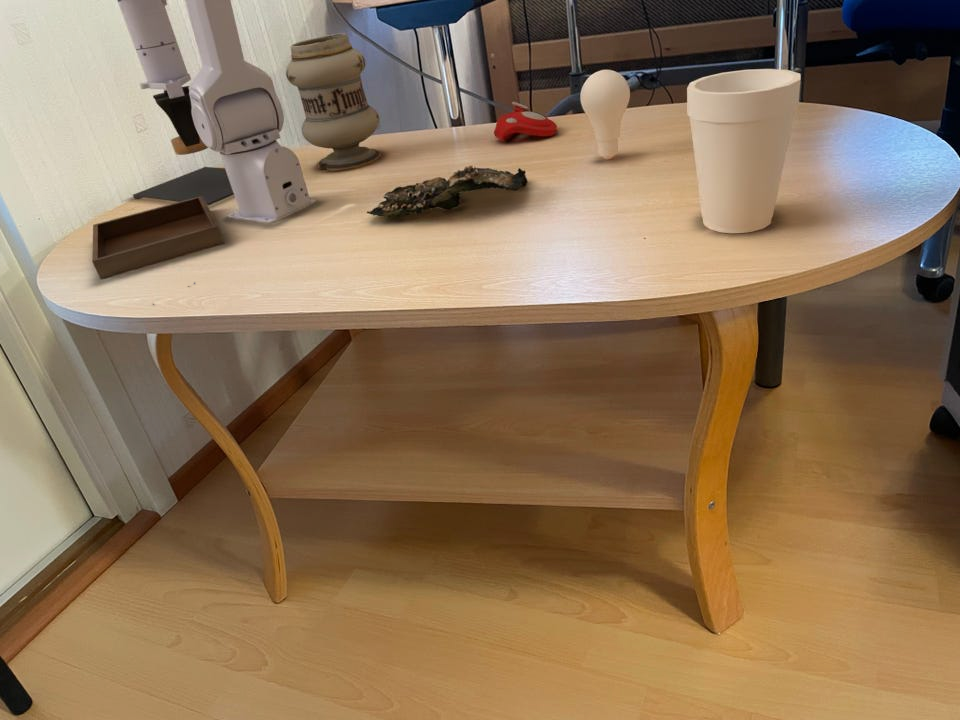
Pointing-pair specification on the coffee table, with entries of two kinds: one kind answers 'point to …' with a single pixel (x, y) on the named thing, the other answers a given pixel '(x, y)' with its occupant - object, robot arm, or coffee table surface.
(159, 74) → the robot arm
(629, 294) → the coffee table surface
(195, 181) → the mat
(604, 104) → the lightbulb
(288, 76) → the apothecary jar
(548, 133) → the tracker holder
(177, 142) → the wooden puck
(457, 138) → the coffee table surface
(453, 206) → the tree bark
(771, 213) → the foam cup
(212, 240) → the tray
